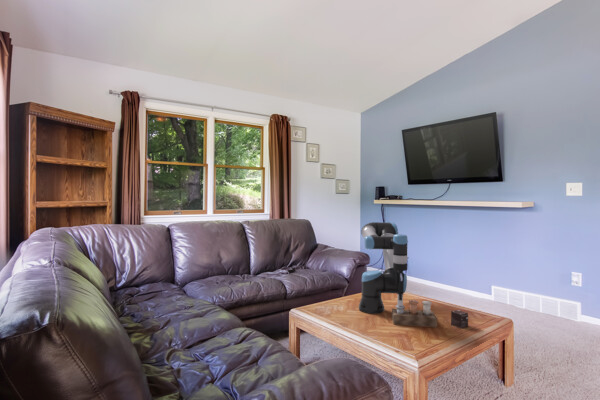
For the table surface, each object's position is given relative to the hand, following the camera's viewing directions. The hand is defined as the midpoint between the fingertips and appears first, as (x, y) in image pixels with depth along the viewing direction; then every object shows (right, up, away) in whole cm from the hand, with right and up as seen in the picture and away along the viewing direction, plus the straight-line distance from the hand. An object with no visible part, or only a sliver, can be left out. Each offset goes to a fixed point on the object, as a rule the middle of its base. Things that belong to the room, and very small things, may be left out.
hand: (400, 305), depth 183 cm
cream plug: (+14, -5, -3) cm, 15 cm away
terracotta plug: (+7, -5, -1) cm, 8 cm away
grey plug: (0, -8, 0) cm, 8 cm away
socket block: (+7, -9, -1) cm, 11 cm away
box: (+30, -9, -6) cm, 32 cm away
